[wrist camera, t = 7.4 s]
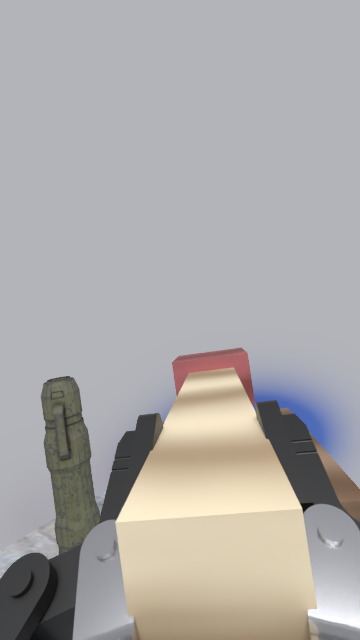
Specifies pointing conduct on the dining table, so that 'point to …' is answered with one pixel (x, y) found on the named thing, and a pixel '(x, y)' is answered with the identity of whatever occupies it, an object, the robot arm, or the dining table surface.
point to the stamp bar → (215, 519)
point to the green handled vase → (68, 462)
